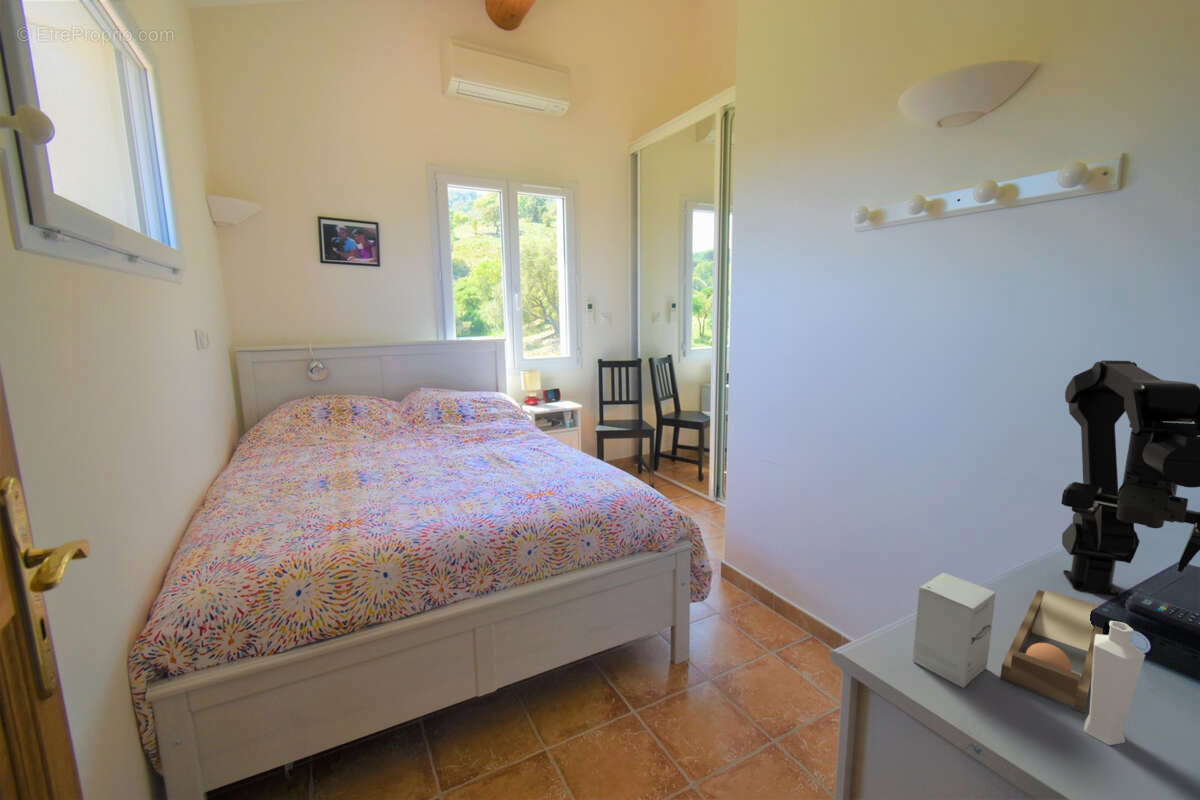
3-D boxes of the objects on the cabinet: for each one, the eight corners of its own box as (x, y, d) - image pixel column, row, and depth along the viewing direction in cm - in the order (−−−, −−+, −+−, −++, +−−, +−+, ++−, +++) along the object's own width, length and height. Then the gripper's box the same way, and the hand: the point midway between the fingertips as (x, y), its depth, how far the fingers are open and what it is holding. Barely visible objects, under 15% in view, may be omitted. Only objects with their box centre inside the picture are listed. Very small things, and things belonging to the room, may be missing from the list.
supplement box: (964, 690, 74) (973, 609, 72) (910, 661, 80) (916, 585, 78) (988, 669, 78) (997, 591, 76) (935, 642, 84) (942, 570, 82)
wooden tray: (1036, 603, 94) (1039, 579, 93) (1105, 624, 87) (1109, 599, 86) (1000, 680, 76) (1003, 652, 75) (1083, 715, 70) (1088, 684, 69)
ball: (1038, 654, 79) (1030, 683, 76) (1023, 631, 78) (1014, 661, 75) (1081, 663, 74) (1074, 694, 72) (1065, 639, 73) (1057, 670, 71)
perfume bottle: (1085, 740, 65) (1102, 632, 63) (1073, 715, 69) (1089, 612, 66) (1135, 754, 63) (1155, 642, 60) (1120, 727, 67) (1139, 621, 64)
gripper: (1059, 463, 82) (1047, 556, 85) (1249, 495, 68) (1225, 605, 71) (1075, 448, 89) (1063, 534, 92) (1250, 474, 74) (1229, 575, 77)
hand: (1136, 559), depth 83 cm, fingers open, 9 cm apart
